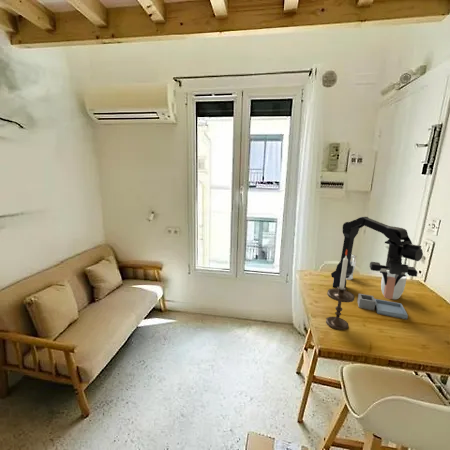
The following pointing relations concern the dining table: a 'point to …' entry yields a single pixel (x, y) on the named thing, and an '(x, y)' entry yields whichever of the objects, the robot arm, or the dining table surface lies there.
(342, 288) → the candlestick
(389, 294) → the peg
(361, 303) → the hollow square socket
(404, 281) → the mug
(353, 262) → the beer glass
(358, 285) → the dining table surface
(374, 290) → the dining table surface
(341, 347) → the dining table surface
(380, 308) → the tray
